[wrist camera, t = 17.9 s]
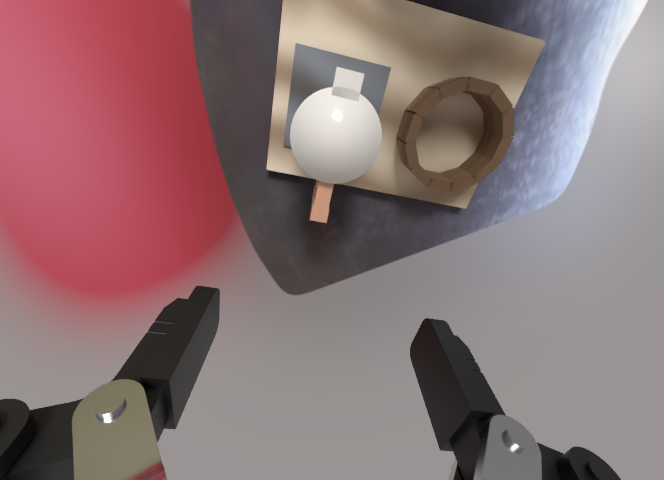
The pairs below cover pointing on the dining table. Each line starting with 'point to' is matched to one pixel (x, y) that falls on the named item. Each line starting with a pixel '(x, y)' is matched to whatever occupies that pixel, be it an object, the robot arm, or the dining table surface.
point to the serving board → (407, 90)
